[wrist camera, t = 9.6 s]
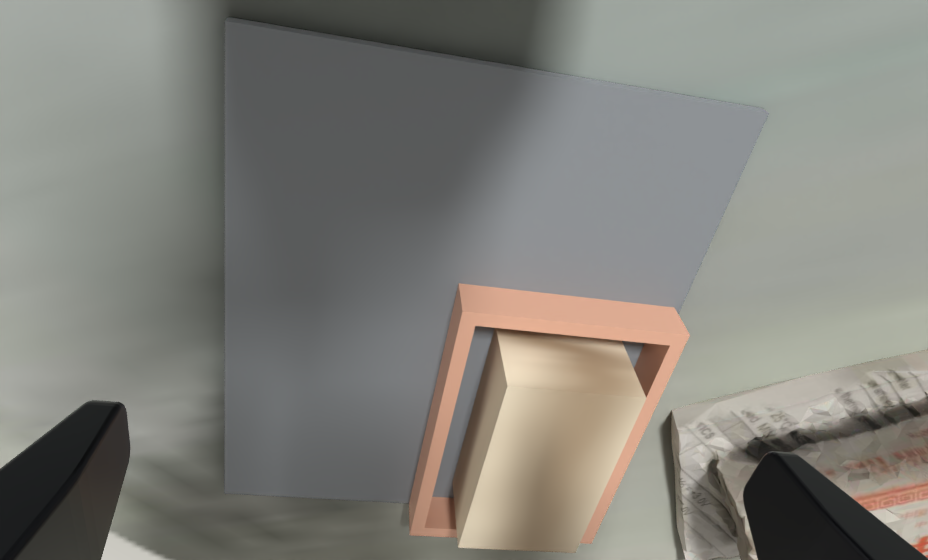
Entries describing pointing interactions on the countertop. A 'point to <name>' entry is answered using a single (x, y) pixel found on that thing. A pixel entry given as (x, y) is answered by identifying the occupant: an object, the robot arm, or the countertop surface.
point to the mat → (429, 235)
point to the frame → (545, 316)
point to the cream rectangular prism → (542, 440)
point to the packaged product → (807, 449)
